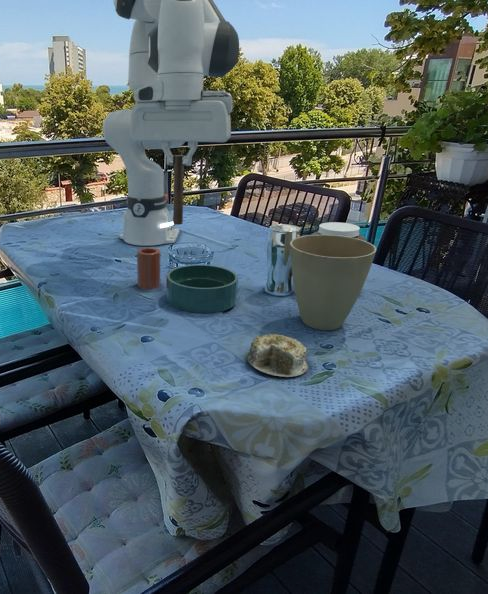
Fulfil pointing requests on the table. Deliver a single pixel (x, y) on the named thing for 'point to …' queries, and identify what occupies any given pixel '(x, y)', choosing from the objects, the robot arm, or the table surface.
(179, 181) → the stirring stick
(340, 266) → the plant pot
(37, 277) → the table surface
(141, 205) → the robot arm
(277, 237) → the shiny metal cylinder
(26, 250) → the table surface
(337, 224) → the jar
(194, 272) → the bowl
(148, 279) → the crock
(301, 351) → the cake
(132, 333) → the table surface
